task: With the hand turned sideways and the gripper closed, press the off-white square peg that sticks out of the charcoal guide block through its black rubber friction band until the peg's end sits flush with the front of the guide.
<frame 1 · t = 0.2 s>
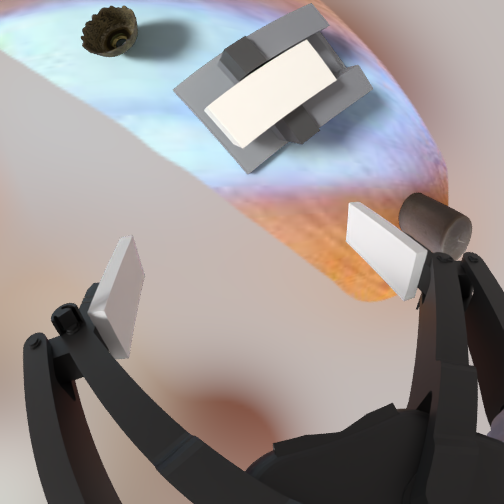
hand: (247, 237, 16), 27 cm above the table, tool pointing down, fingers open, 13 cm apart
guide: (282, 77, 36), on the table
peg: (267, 92, 29), point 9 cm above the table, slide at 6.0 cm
cup: (121, 43, 28), on the table
pillar candle: (413, 214, 52), on the table
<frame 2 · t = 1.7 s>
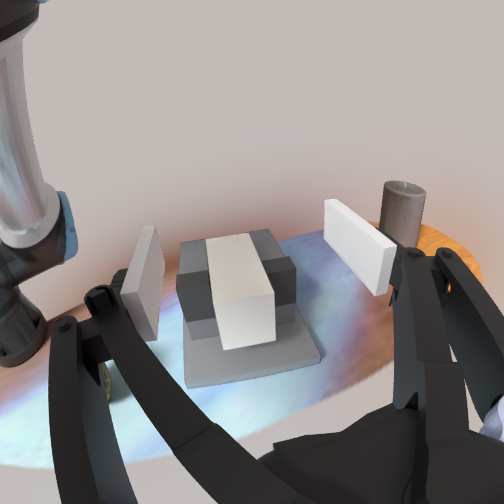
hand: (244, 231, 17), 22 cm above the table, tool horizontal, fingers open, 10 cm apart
guide: (237, 307, 44), on the table
peg: (237, 285, 34), point 9 cm above the table, slide at 6.0 cm
pillar candle: (396, 245, 57), on the table
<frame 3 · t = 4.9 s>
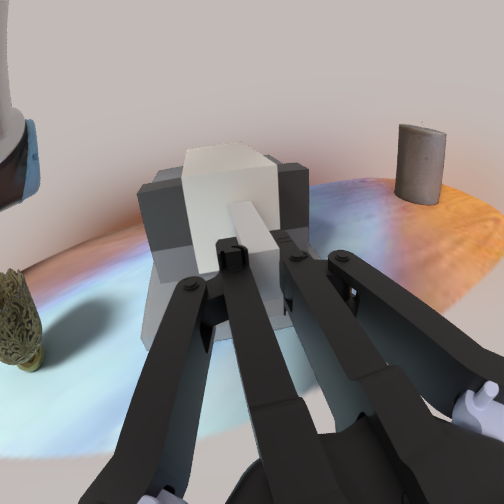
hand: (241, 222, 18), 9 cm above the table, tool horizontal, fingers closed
guide: (228, 250, 33), on the table
peg: (224, 192, 24), point 9 cm above the table, slide at 5.3 cm, touching gripper
cup: (34, 362, 18), on the table
pillar candle: (417, 197, 46), on the table
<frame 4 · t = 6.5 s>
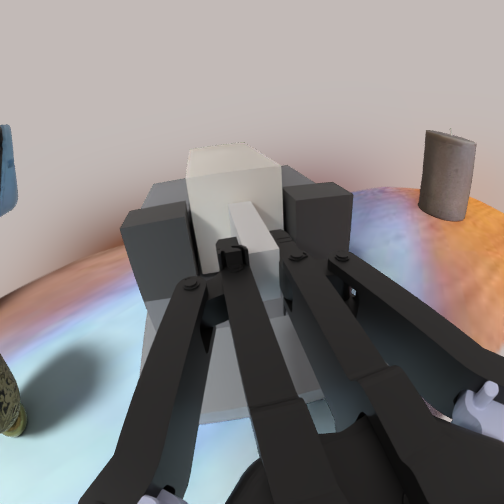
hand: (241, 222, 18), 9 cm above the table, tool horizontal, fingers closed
guide: (239, 284, 27), on the table
peg: (227, 192, 24), point 9 cm above the table, slide at -1.8 cm, touching gripper
cup: (17, 423, 12), on the table
pillar candle: (442, 211, 40), on the table
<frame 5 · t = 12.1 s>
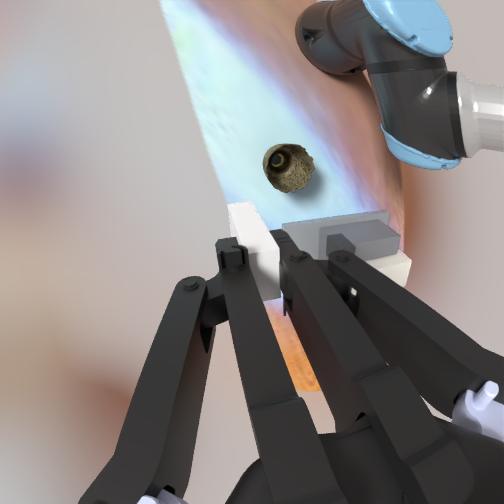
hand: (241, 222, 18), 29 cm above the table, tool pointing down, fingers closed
guide: (344, 251, 58), on the table
peg: (372, 271, 51), point 9 cm above the table, slide at -1.8 cm
cup: (275, 159, 46), on the table
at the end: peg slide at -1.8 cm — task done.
